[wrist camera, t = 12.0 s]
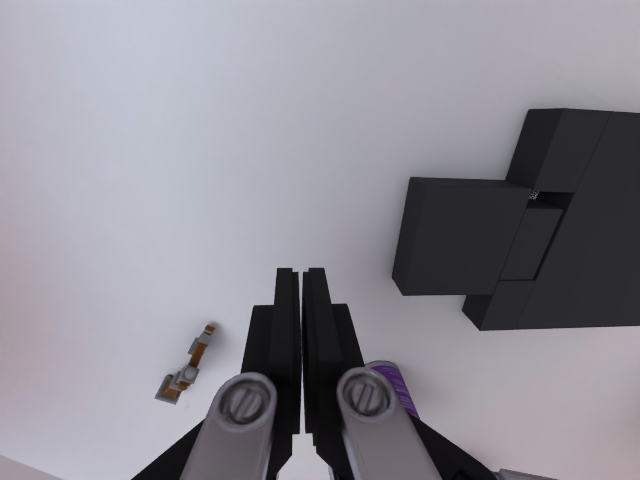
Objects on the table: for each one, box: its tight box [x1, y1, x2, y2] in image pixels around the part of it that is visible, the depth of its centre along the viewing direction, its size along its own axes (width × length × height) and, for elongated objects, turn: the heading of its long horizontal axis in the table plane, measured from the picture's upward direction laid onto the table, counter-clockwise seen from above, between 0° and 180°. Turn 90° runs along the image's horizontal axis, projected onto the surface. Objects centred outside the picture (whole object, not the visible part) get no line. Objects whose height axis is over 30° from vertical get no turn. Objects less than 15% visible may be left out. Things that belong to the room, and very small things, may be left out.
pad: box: [392, 177, 563, 296], centre depth 19 cm, size 8×10×2 cm
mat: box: [462, 108, 640, 331], centre depth 20 cm, size 16×16×2 cm
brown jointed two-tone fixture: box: [154, 325, 215, 405], centre depth 22 cm, size 2×8×4 cm, turn 146°
